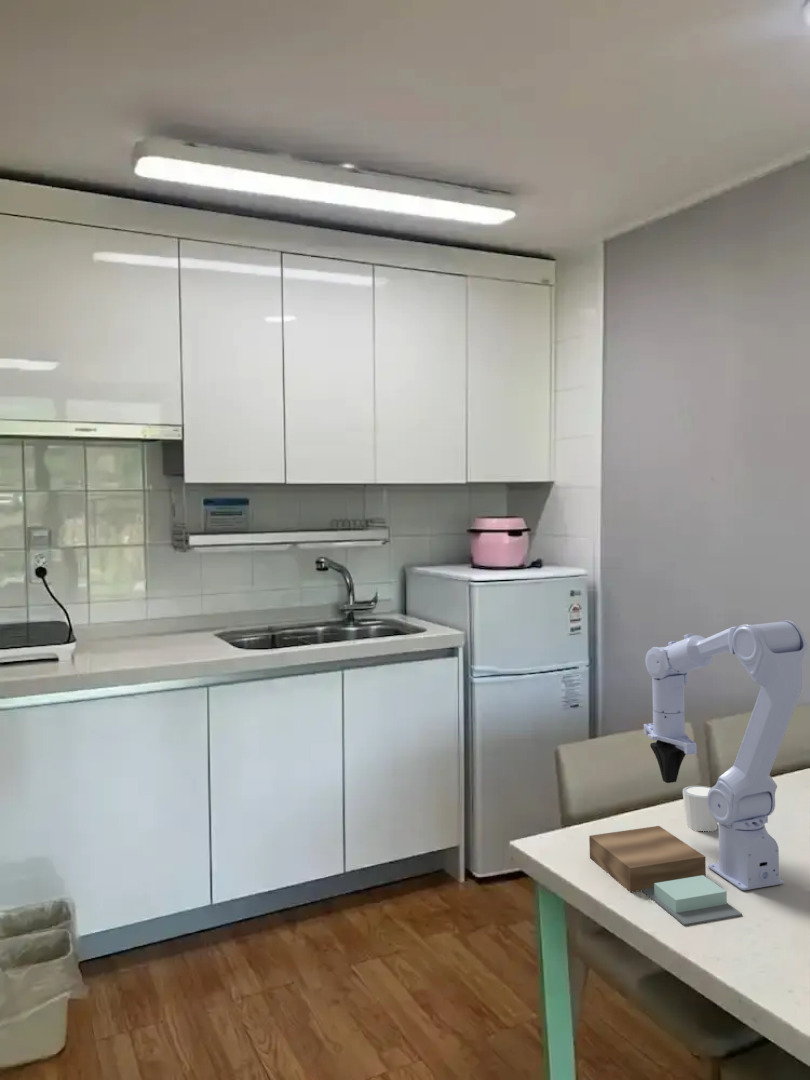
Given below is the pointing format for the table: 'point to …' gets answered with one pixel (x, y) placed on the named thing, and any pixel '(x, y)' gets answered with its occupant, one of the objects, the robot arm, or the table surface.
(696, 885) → the mint green flat block
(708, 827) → the white short cylinder
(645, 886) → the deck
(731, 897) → the table surface
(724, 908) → the mat
